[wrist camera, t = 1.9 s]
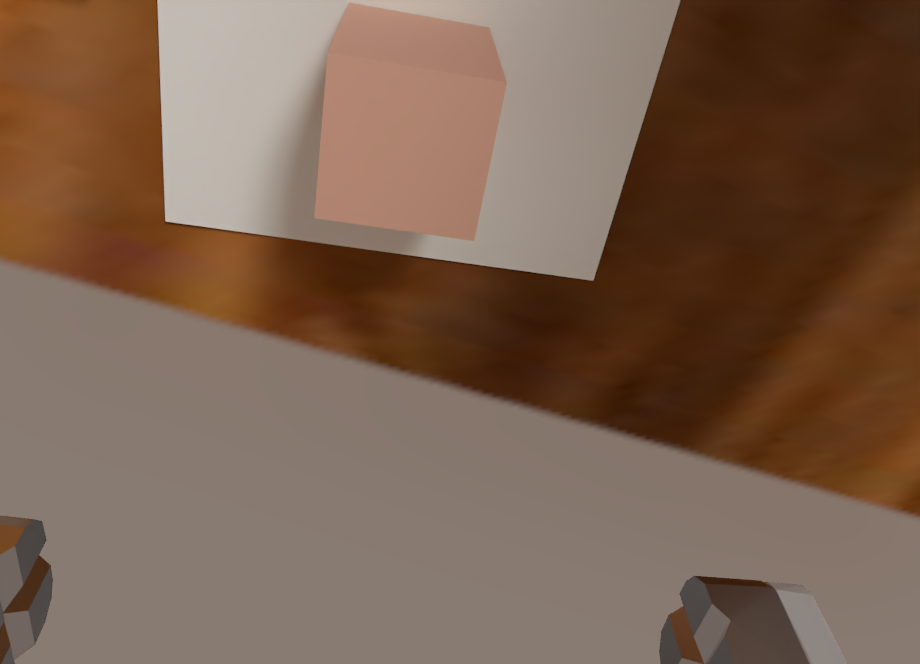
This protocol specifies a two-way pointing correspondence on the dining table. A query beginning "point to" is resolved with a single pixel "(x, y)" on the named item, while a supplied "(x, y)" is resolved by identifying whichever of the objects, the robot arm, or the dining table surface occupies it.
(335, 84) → the terracotta block
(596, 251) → the mat
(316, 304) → the dining table surface
